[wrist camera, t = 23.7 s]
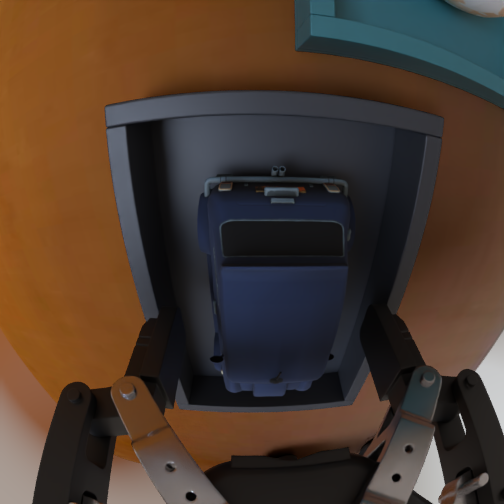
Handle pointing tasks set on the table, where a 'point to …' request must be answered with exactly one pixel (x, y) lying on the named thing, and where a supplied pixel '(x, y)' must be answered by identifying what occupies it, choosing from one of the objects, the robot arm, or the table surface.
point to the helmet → (480, 7)
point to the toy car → (275, 276)
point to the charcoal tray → (260, 164)
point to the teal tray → (409, 39)
